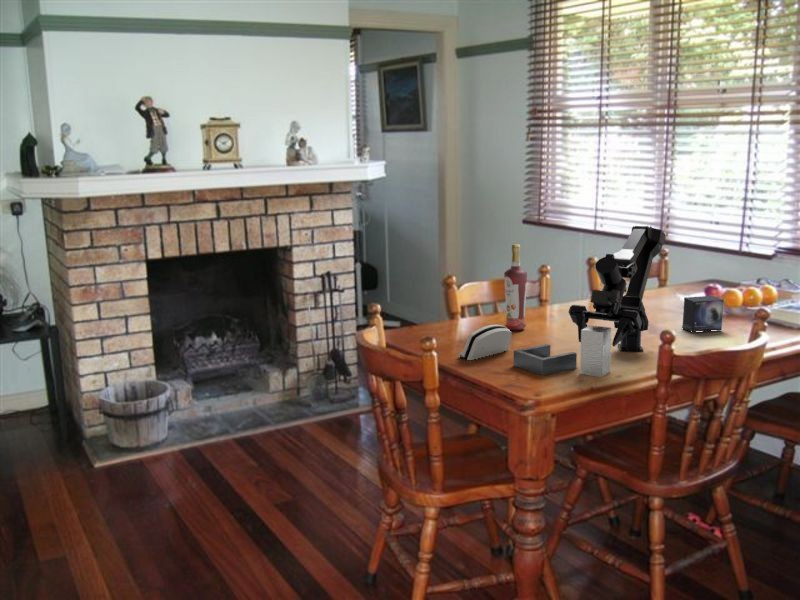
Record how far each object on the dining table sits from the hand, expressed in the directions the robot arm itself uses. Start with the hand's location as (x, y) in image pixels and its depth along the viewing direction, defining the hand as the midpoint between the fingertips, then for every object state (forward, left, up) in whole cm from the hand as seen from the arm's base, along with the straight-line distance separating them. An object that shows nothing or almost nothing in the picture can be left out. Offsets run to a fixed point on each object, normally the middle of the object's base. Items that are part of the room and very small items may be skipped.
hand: (596, 343), depth 213 cm
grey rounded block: (-17, -29, -8) cm, 35 cm away
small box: (-49, +39, -8) cm, 63 cm away
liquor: (-49, -20, -8) cm, 54 cm away
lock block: (0, 0, -8) cm, 8 cm away
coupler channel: (-5, -13, -8) cm, 16 cm away
